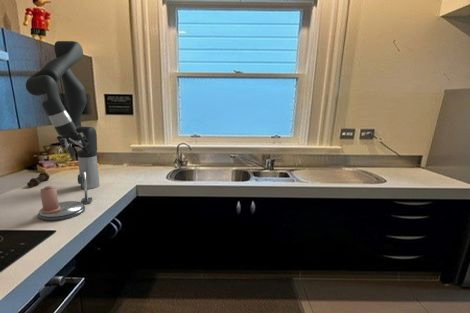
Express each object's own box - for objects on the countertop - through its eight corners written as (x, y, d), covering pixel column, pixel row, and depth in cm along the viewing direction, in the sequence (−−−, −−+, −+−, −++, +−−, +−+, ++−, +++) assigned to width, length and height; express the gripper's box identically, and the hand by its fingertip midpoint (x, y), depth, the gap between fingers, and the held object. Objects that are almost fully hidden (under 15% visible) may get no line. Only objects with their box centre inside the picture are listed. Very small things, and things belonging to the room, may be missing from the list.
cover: (45, 208, 116) (42, 185, 114) (63, 207, 118) (60, 184, 116) (38, 215, 110) (35, 190, 108) (57, 213, 112) (54, 188, 110)
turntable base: (47, 207, 124) (47, 204, 124) (89, 203, 128) (88, 201, 128) (30, 223, 108) (30, 220, 108) (79, 218, 112) (78, 216, 112)
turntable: (47, 204, 123) (47, 202, 123) (87, 201, 127) (87, 199, 127) (32, 219, 108) (32, 216, 108) (77, 215, 112) (77, 212, 112)
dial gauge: (82, 201, 132) (79, 171, 129) (92, 200, 133) (89, 170, 130) (79, 204, 128) (76, 173, 125) (90, 203, 129) (87, 173, 126)
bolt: (29, 191, 151) (44, 182, 165) (37, 186, 151) (51, 178, 165) (22, 182, 149) (37, 174, 164) (30, 178, 149) (45, 170, 164)
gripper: (81, 117, 120) (98, 149, 128) (57, 120, 125) (75, 151, 133) (68, 124, 114) (87, 157, 122) (43, 127, 119) (63, 159, 127)
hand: (80, 154), depth 127 cm, fingers open, 8 cm apart
